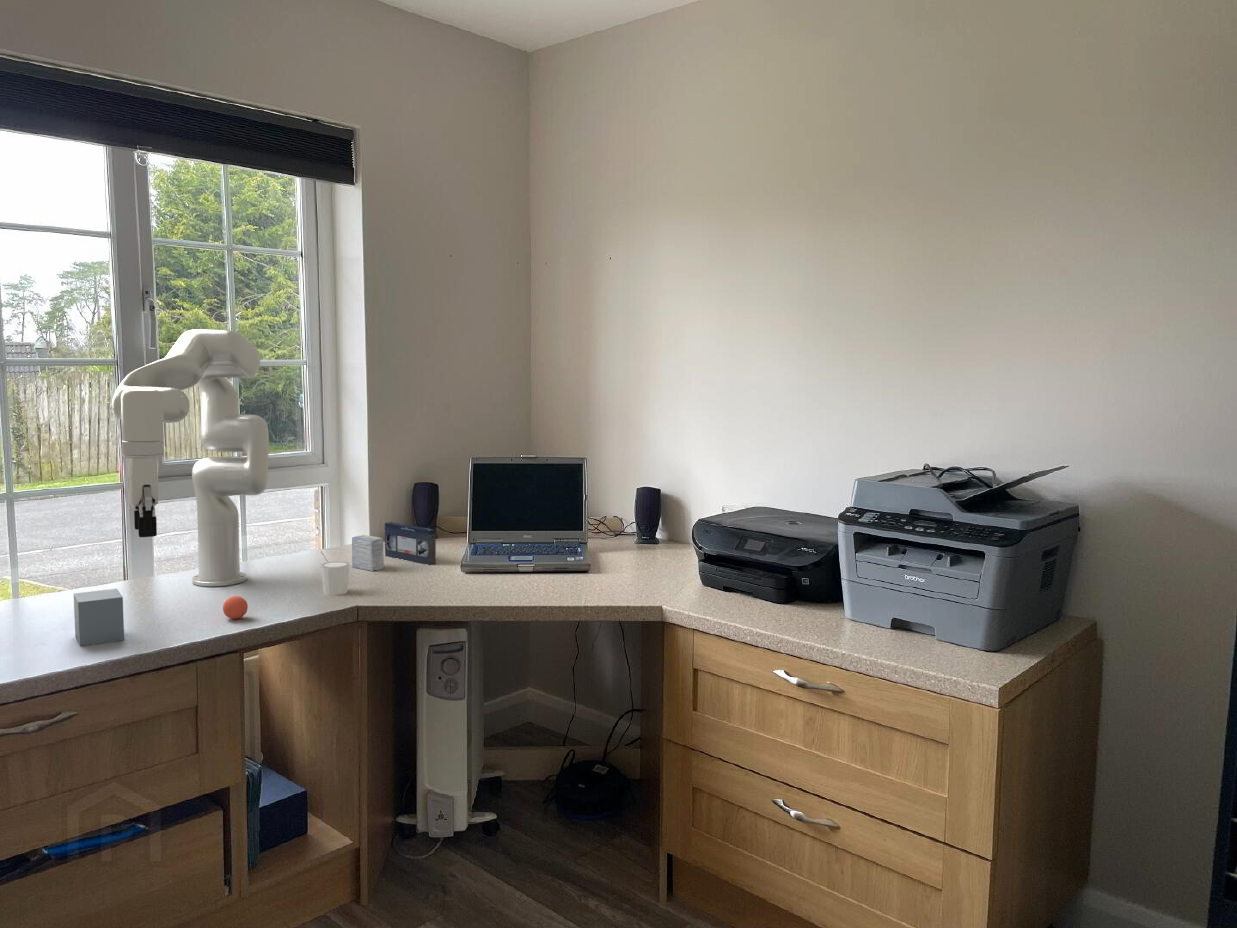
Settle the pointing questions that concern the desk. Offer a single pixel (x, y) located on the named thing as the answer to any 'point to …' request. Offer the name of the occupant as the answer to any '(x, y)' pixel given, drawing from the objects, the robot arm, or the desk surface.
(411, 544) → the vhs cassette tape
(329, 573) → the white tapered cup
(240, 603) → the ball
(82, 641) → the blue-grey block
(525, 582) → the desk surface
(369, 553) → the light grey block
